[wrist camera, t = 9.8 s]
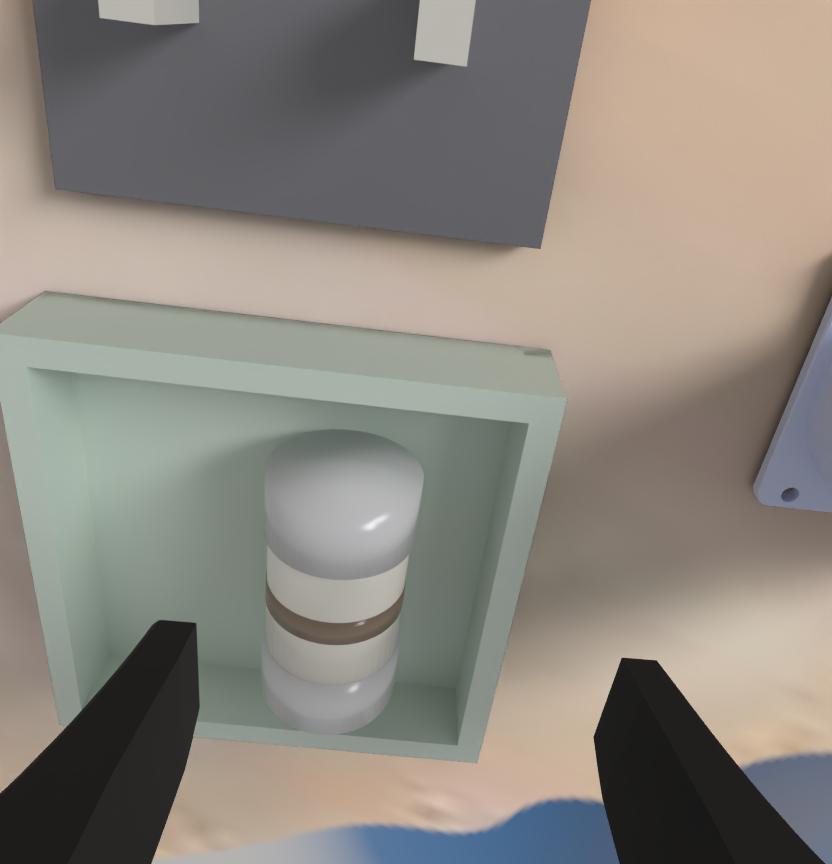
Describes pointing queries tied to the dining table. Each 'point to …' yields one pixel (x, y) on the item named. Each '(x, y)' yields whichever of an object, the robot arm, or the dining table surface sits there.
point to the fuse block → (317, 107)
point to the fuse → (335, 575)
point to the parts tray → (244, 497)
